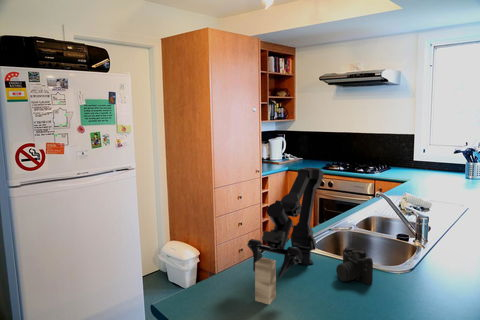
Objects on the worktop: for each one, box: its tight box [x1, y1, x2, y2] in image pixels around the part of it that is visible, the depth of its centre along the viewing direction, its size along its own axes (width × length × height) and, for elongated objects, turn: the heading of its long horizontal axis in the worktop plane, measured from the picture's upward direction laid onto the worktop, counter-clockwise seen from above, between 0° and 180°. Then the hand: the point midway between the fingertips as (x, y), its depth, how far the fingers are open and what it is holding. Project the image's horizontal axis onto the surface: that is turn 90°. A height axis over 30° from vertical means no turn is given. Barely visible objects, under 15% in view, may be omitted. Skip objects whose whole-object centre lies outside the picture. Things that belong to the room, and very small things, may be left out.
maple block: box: [254, 256, 277, 305], centre depth 118 cm, size 5×5×13 cm
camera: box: [335, 246, 374, 285], centre depth 133 cm, size 14×11×10 cm
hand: (266, 274), depth 118 cm, fingers open, 9 cm apart
